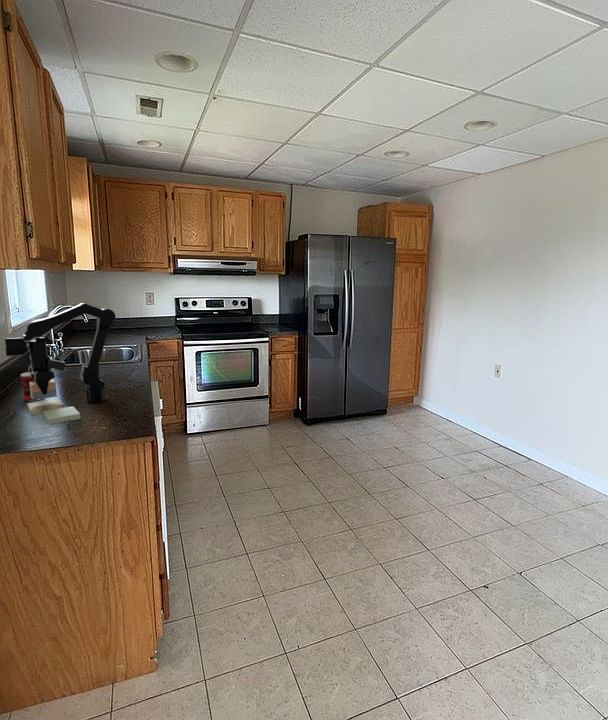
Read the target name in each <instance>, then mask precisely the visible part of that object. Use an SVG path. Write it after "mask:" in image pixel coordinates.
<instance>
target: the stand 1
mask: <svg viewBox="0 0 608 720" xmlns="http://www.w3.org/2000/svg"><path fill="white" fill-rule="evenodd" d="M26 406H27V407H26V408H27V410H28V412H29V411H30V412H29V414H30V415H31V414H33V415H37V414H36V413H39V414H43V411H48V410H54V409H60V408H65V404H64V402H62V400H60V398H51V399H47V400H46V399H44V400H38V401H32V402H27V403H26Z"/></svg>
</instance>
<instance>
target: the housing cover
mask: <svg viewBox="0 0 608 720" xmlns="http://www.w3.org/2000/svg"><path fill="white" fill-rule="evenodd" d="M29 385H30V390H31V392H32V393H33V392H40V391H41V390H40V388H39V387H38V385H37V383H36V382H35V381H34V382H29ZM54 389H56V390H57V385H56V381H55V380H54V378H53V379H51V380H50V381H49V383H48V389H47V390H54Z"/></svg>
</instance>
